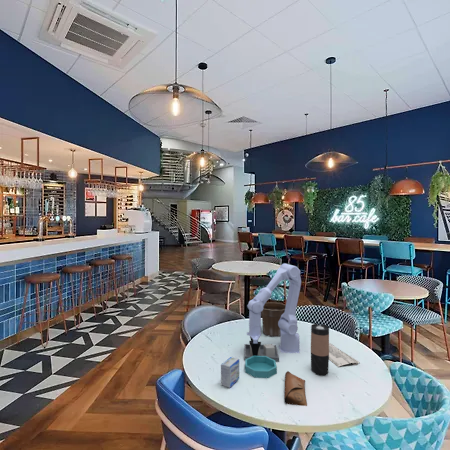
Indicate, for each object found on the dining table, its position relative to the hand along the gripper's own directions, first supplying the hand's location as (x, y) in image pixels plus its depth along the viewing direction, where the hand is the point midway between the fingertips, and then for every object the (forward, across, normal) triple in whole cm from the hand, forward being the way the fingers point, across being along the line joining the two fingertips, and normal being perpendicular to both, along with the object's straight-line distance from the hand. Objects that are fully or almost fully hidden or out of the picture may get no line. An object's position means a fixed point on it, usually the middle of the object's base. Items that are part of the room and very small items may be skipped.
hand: (254, 351), depth 140 cm
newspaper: (+3, -4, +40) cm, 40 cm away
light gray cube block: (+1, 0, +7) cm, 7 cm away
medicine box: (+2, +24, -11) cm, 26 cm away
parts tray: (+2, 0, +3) cm, 3 cm away
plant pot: (+2, -29, +12) cm, 31 cm away
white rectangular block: (+1, 0, 0) cm, 1 cm away
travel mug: (+2, +13, +28) cm, 31 cm away
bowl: (+2, +14, +2) cm, 14 cm away
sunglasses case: (+2, +28, +15) cm, 32 cm away
